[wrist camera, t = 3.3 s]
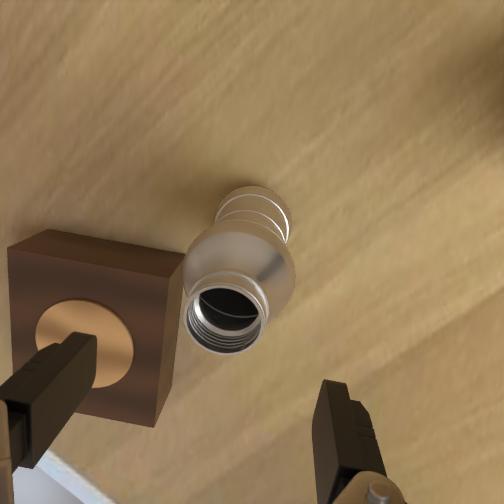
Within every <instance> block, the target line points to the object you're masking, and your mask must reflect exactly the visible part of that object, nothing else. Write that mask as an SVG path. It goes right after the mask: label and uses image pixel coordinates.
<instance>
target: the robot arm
mask: <svg viewBox="0 0 504 504" xmlns="http://www.w3.org/2000/svg"><path fill="white" fill-rule="evenodd" d="M96 365H97V337H96V335H91V334H86V333H81V332H76V331H74V332H72V333H71V334H70V335H69V336H68V337H67V338H66V339H65V340H64V341H63V342H62V343H61V344H59V343H53V344H51V345H49V346H47V347H44V348H42V349H40V350H39V351H38V352H37V353H36V354H35V355H34V356H32V357H31V358H30V359H29V362H28V361H27V362H26V363H25V364H24V365H23V366H22V367H21V369H20V370H19V369H18V370H17V371H16V372H15V373H14V374H13V375H12V376H11V377H10V378H9V379H8V380H7V381H5V382H4V383H3V384H2V385H1V386H0V504H14V491H13V477H12V474H13V472H14V471H15V470H16V469H17V467H18V466H20V467H25V468H30V469H33V468H34V467H35V465H36V464H37V463H38V461H39V460H40V459H41V457H42V456H43V454H44V453H45V452H46V450H47V449H48V448H49V446H50V445H51V443H52V442H53V441H54V439H55V438H56V437H57V435H58V434H59V432H60V431H61V430H62V428H63V427H64V426H65V424H66V423H67V421H68V420H69V419H70V417H71V416H72V415H73V413H74V412H75V410H76V409H77V408H78V406H79V405H80V404H81V402H82V401H83V399H84V398H85V397H86V395H87V394H88V393H89V391H90V390H91V388H92V386H93V383H94V380H95V377H96ZM372 427H373V426H372V422H371V419H370V415H369V413H368V412H367V410H366V409H365V408H364V406H363V405H362V404H361V402H360V401H355V400H350V397H349V393H348V388H347V385H346V383H341V382H336V381H331V380H326V379H324V380H323V382H322V385H321V389H320V393H319V397H318V400H317V404H316V408H315V412H314V415H313V421H312V443H313V455H314V466H315V478H316V490H317V502H318V504H407V503H406V502H405V500H404V497H403V495H402V493H401V491H400V490H399V488H398V487H397V486H396V485H395V484H394V483H393V482H392V481H391V480H390V479H388V478H387V475H386V471H385V468H384V464H383V461H382V457H381V454H380V450H379V447H378V443H377V440H376V439H375V437H376V436H375V433H374V429H373V428H372Z"/></svg>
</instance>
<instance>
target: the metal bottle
mask: <svg viewBox="0 0 504 504" xmlns="http://www.w3.org/2000/svg"><path fill="white" fill-rule="evenodd" d="M291 230H292V219H291V214H290V211H289V209H288V207H287V205H286V204H285V202H284V201H283V200H282V199H281V198H280V197H279V196H278V195H277V194H275V193H274V192H273V191H271V190H269V189H267V188H263V187H260V186H246V187H241V188H238V189H235V190H234V191H232V192H230V193H229V194H228V195H226V196H225V197H224V198H223V200H222V201H221V202H220V204H219V206H218V208H217V211H216V216H215V225H213V226H211V227H210V228H208V229H206V230H205V231H204V232H203V233H201V234H200V235H199V236H198V237H197V238H196V239H195V240H194V241H193V243H192V244H191V245H190V247H189V248H188V250H187V252H186V255H185V257H184V261H183V266H182V272H183V284H184V288H185V292H186V295H187V297H188V300H187V302H186V304H185V308H184V313H183V321H184V325H185V329H186V331H187V333H188V335H189V336H190V337H191V339H192V340H193V341H194V342H195V343H196V344H197V345H198V346H200V347H201V348H203V349H204V350H206V351H209V352H211V353H214V354H218V355H226V356H228V355H237V354H241V353H243V352H246V351H248V350H249V349H251V348H252V347H253V346H255V344H256V343H257V342H258V341H259V339H260V338H261V336H262V334H263V331H264V328H265V324H267V323H269V322H271V321H272V320H274V319H275V318H276V317H277V316H278V315H279V314H280V313H281V312H282V311H283V310H284V308H285V307H286V306H287V304H288V303H289V301H290V299H291V297H292V295H293V292H294V289H295V281H296V274H295V267H294V264H293V260H292V257H291V255H290V252H289V250H288V248H287V247H286V243H287V241H288V239H289V237H290V233H291Z"/></svg>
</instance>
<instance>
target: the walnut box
mask: <svg viewBox="0 0 504 504" xmlns="http://www.w3.org/2000/svg"><path fill="white" fill-rule="evenodd" d="M7 257H8V278H9V299H10V320H11V341H12V362H13V374H14V373H15V372H16V371H17V370H18V369H19V370H20V369H21V367H22V366H23V365H24V364H25V363H26V362H27V361H28V362H29V359H30V358H31V357H32V356H34V355H35V354H36V353H37V352H38V351H39V350H40V349H42V348H44V347H47V346H49V345H51V344H53V343H59V344H61V343H62V342H63V341H64V340H65V339H66V338H67V337H68V336H69V335H70V334H71V333H72V332H74V331H76V332H81V333H86V334H91V335H96V337H97V365H96V377H95V380H94V383H93V386H92V388H91V390H90V391H89V393H88V394H87V395H86V397H85V398H84V399H83V401H82V402H81V404H80V405H79V406H78V408H77V409H76V410H75V412H76V413H81V414H86V415H91V416H96V417H101V418H106V419H111V420H116V421H121V422H126V423H131V424H136V425H141V426H147V427H152V428H154V427H155V425H156V422H157V420H158V418H159V415H160V413H161V411H162V408H163V406H164V404H165V401H166V399H167V397H168V394H169V392H170V390H171V386H172V377H173V369H174V360H175V351H176V343H177V334H178V325H179V317H180V308H181V299H182V291H183V272H182V266H183V261H184V257H185V254H180V253H174V252H169V251H163V250H158V249H153V248H147V247H142V246H136V245H131V244H126V243H120V242H115V241H109V240H104V239H99V238H93V237H88V236H82V235H77V234H72V233H66V232H61V231H55V230H50V229H47V230H45V231H43V232H41V233H38V234H36V235H34V236H32V237H30V238H28V239H25V240H23V241H21V242H19V243H17V244H14V245H12V246H10V247H8V248H7Z"/></svg>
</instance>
